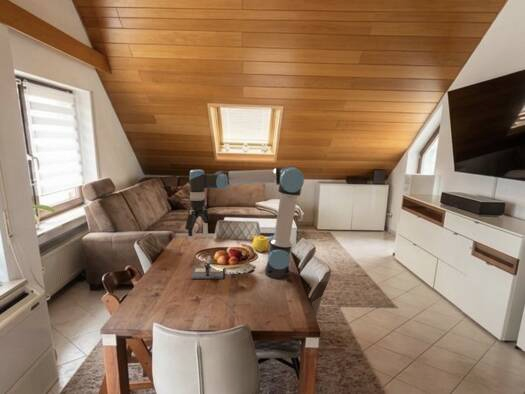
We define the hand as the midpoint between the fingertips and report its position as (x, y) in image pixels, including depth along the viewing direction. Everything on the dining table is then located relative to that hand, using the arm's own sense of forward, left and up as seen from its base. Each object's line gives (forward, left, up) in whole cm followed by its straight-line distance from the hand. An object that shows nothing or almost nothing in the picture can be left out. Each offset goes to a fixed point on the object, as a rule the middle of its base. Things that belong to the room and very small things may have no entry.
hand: (198, 237), depth 166 cm
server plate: (-4, -10, -25) cm, 27 cm away
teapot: (-38, -46, -25) cm, 65 cm away
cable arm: (-4, -10, -19) cm, 22 cm away
